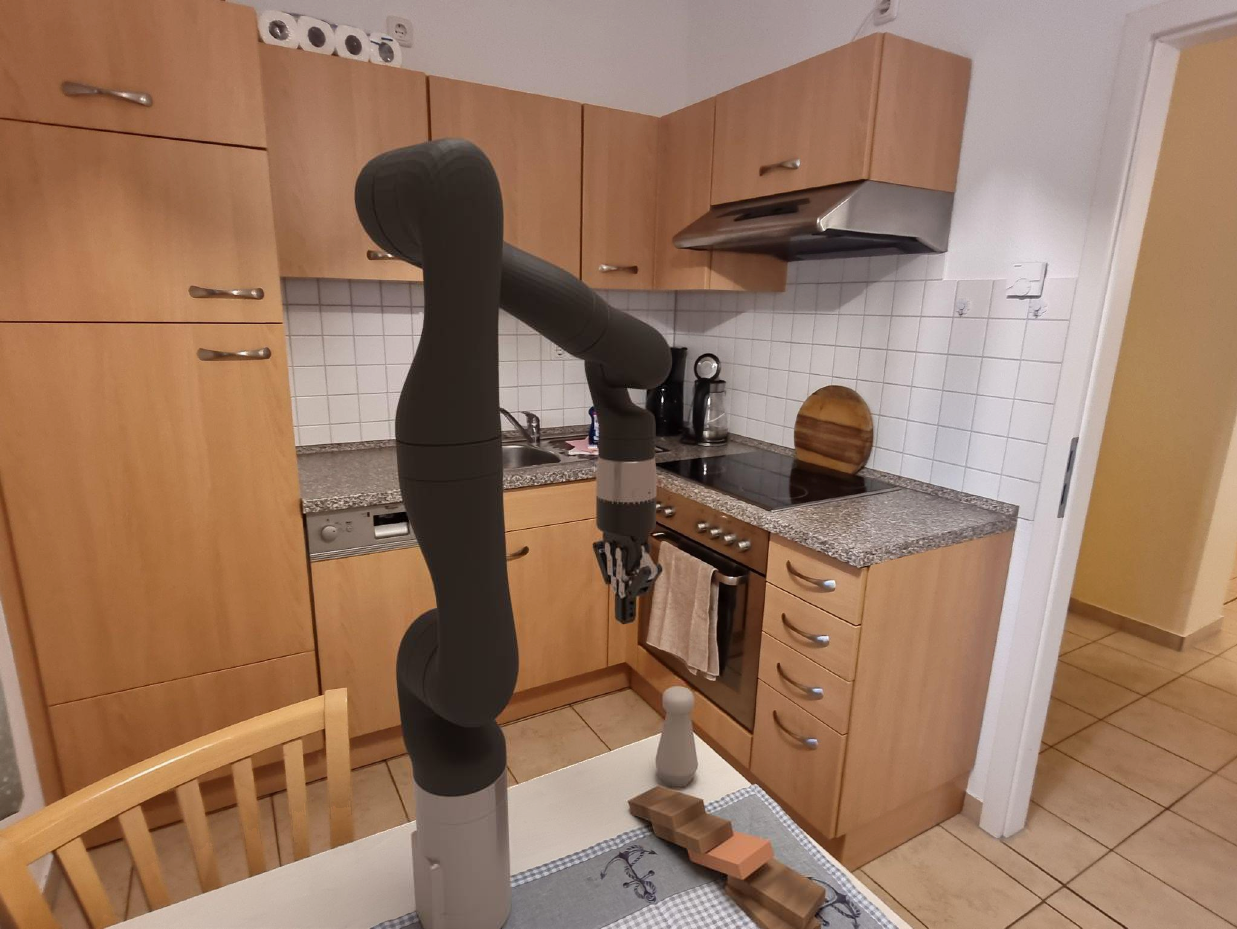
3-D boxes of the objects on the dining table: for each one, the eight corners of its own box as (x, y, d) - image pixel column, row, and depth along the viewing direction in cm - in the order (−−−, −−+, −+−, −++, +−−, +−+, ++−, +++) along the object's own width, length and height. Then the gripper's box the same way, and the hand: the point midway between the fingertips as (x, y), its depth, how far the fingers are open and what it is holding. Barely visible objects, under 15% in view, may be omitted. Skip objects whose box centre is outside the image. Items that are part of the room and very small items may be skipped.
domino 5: (724, 897, 76) (786, 960, 68) (725, 885, 75) (787, 946, 68) (757, 877, 78) (820, 936, 71) (758, 865, 78) (821, 922, 71)
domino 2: (654, 834, 84) (701, 854, 77) (651, 821, 84) (698, 839, 77) (685, 817, 87) (733, 835, 79) (682, 804, 87) (730, 821, 80)
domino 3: (690, 861, 80) (742, 879, 73) (686, 847, 80) (738, 864, 73) (721, 839, 83) (774, 855, 75) (717, 826, 83) (769, 840, 76)
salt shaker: (647, 770, 96) (649, 685, 93) (683, 759, 98) (686, 676, 95) (668, 796, 91) (670, 707, 88) (705, 784, 93) (708, 697, 90)
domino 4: (727, 883, 76) (802, 931, 70) (727, 870, 75) (803, 918, 69) (751, 857, 79) (824, 901, 73) (752, 845, 79) (825, 888, 73)
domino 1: (630, 813, 88) (674, 830, 80) (627, 800, 88) (671, 816, 80) (660, 797, 90) (705, 812, 83) (658, 785, 91) (703, 799, 83)
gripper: (683, 499, 83) (679, 633, 86) (621, 478, 93) (620, 597, 97) (631, 508, 79) (630, 648, 82) (573, 484, 89) (574, 609, 93)
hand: (625, 620), depth 90 cm, fingers closed
